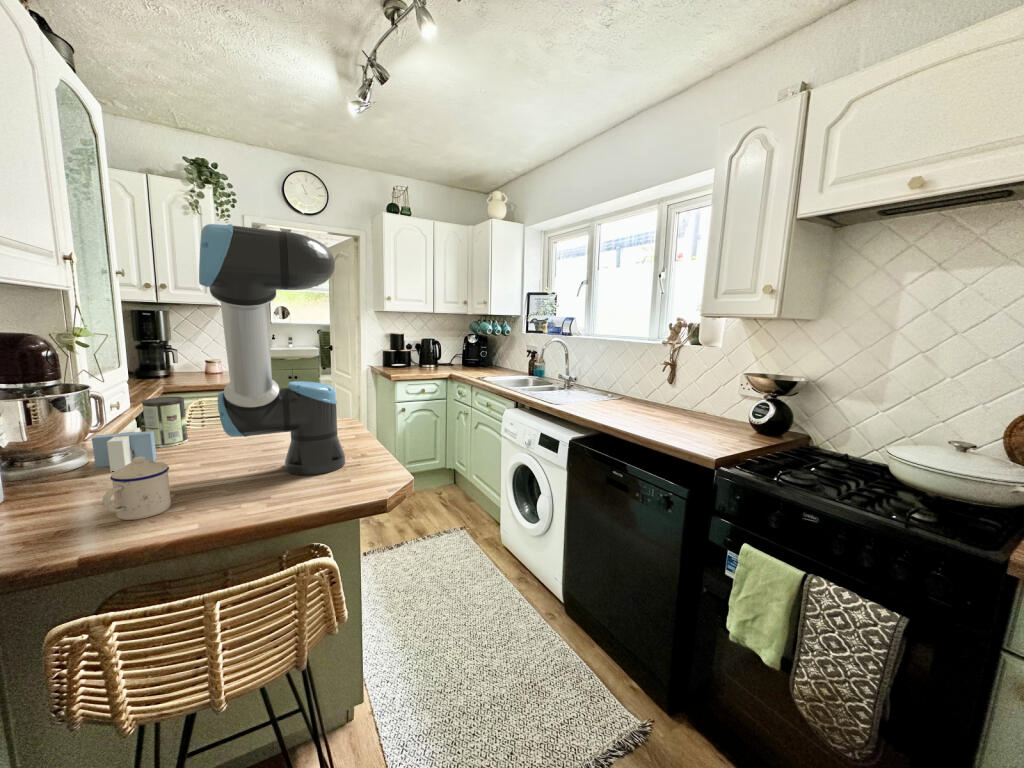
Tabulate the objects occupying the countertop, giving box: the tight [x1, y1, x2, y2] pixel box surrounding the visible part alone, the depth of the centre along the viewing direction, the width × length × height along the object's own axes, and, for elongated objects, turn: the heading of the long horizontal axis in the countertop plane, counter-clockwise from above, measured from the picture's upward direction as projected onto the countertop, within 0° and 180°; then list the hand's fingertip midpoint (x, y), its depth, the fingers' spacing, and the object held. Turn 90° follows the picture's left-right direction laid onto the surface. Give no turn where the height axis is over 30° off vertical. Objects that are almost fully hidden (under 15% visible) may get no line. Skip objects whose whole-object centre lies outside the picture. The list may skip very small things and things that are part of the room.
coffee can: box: [141, 396, 189, 449], centre depth 132 cm, size 10×10×14 cm
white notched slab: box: [107, 427, 141, 473], centre depth 115 cm, size 14×3×8 cm, turn 27°
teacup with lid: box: [102, 456, 172, 521], centre depth 86 cm, size 12×9×12 cm
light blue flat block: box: [91, 430, 157, 468], centre depth 115 cm, size 3×12×8 cm, turn 117°
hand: (254, 362), depth 128 cm, fingers open, 13 cm apart
